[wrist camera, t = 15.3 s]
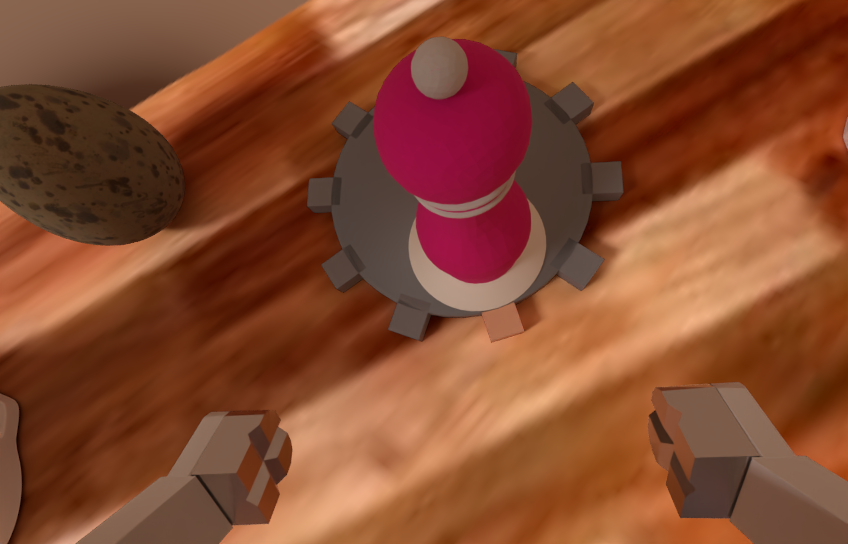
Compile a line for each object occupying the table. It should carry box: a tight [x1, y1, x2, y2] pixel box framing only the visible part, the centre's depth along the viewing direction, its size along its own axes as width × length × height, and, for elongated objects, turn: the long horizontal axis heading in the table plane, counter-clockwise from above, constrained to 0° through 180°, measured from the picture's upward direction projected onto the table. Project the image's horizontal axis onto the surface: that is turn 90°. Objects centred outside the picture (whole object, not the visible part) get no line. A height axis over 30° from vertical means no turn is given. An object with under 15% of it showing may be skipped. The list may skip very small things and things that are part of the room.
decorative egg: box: [0, 84, 185, 246], centre depth 32 cm, size 11×11×15 cm
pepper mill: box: [373, 37, 532, 284], centre depth 22 cm, size 7×7×20 cm
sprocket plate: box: [307, 49, 623, 343], centre depth 34 cm, size 24×24×2 cm
